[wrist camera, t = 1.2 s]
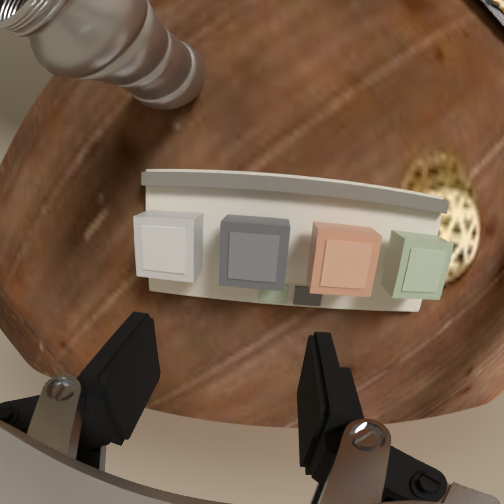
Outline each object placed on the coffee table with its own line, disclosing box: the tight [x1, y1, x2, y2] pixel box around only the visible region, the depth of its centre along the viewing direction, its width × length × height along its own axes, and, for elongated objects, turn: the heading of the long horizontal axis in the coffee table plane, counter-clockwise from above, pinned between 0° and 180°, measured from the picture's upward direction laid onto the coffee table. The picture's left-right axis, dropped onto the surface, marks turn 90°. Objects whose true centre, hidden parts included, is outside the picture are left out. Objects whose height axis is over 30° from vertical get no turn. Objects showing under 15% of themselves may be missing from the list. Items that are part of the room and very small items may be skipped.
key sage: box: [381, 230, 454, 300], centre depth 22 cm, size 5×5×3 cm
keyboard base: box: [141, 169, 448, 312], centre depth 26 cm, size 28×12×2 cm, turn 86°
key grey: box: [134, 210, 204, 283], centre depth 23 cm, size 5×5×3 cm
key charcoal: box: [219, 214, 290, 291], centre depth 23 cm, size 5×5×3 cm
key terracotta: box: [306, 221, 382, 297], centre depth 23 cm, size 5×5×3 cm
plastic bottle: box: [0, 0, 206, 109], centre depth 13 cm, size 6×7×20 cm
